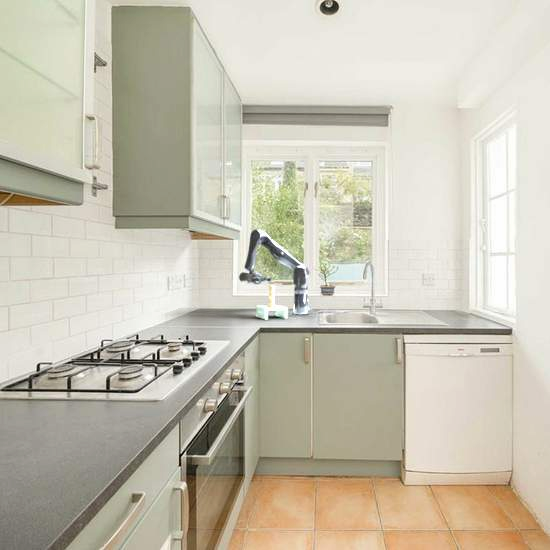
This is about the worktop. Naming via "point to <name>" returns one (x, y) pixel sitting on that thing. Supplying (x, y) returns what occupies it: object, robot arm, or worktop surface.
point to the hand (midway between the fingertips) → (265, 279)
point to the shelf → (263, 310)
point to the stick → (271, 296)
